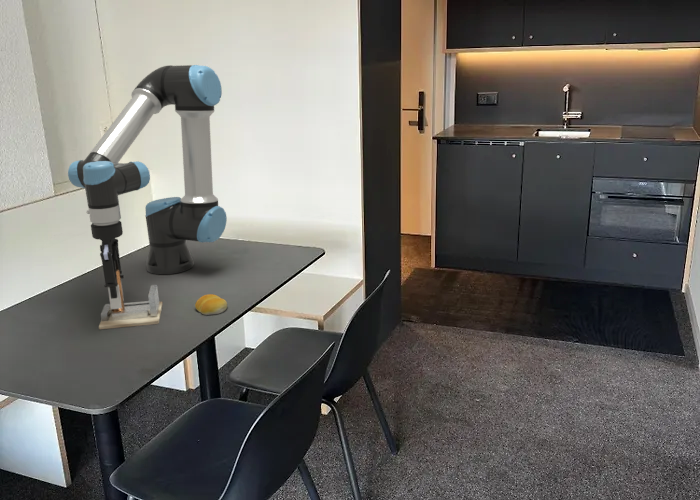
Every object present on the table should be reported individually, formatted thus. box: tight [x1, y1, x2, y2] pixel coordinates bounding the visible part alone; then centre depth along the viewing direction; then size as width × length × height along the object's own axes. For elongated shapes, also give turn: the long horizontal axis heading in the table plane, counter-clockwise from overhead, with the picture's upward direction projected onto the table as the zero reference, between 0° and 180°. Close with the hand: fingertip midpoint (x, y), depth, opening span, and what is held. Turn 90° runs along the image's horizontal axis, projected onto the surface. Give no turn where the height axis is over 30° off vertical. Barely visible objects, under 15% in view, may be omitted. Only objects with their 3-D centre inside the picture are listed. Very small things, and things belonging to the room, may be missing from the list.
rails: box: [100, 300, 149, 321], centre depth 174 cm, size 7×12×2 cm, turn 101°
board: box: [98, 301, 163, 330], centre depth 175 cm, size 14×15×1 cm
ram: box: [111, 269, 160, 316], centre depth 173 cm, size 8×12×12 cm, turn 101°
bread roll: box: [194, 293, 228, 316], centre depth 179 cm, size 8×9×4 cm
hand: (117, 305), depth 174 cm, fingers closed on ram, 3 cm apart
